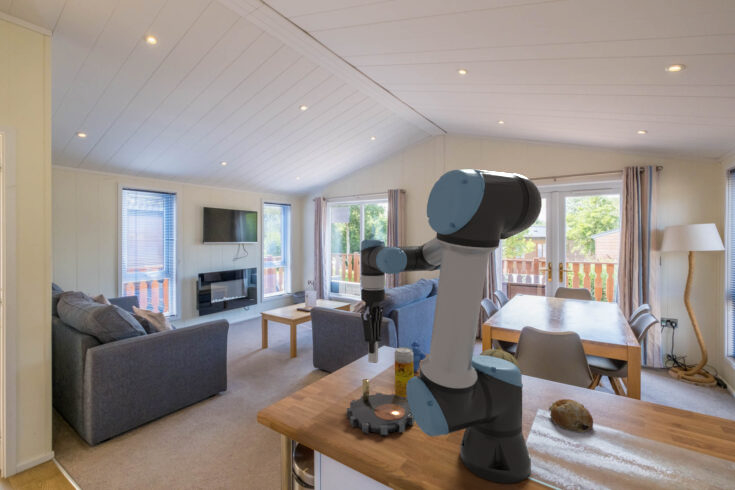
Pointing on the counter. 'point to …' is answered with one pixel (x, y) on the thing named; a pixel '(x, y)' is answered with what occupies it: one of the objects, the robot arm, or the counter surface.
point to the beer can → (403, 370)
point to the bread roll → (571, 415)
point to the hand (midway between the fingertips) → (373, 361)
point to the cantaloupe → (501, 355)
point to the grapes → (417, 355)
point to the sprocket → (379, 412)
